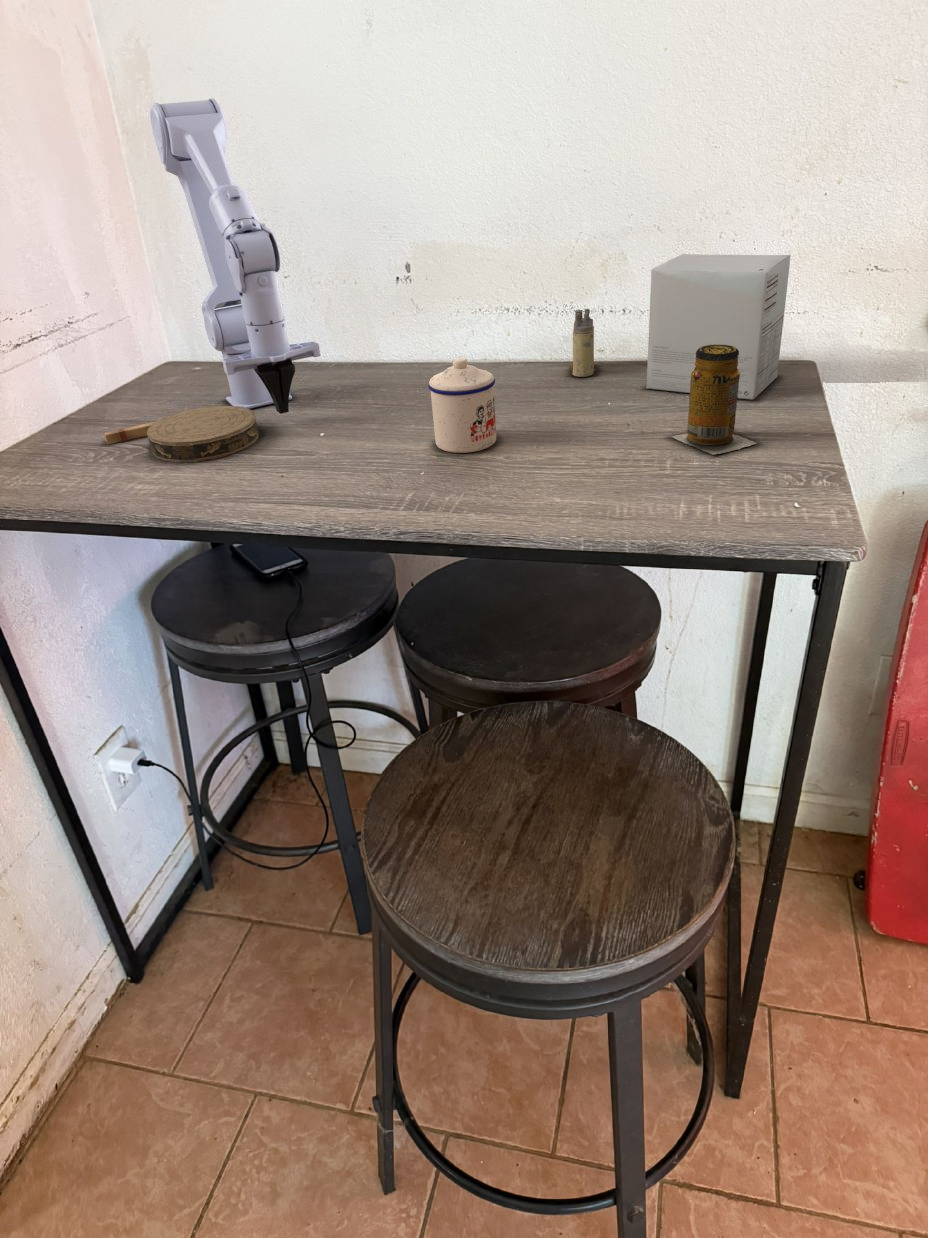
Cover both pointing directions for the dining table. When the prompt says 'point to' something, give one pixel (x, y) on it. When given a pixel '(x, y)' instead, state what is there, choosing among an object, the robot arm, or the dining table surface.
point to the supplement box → (717, 317)
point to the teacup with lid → (463, 408)
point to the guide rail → (127, 433)
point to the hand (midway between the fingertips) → (282, 411)
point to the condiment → (714, 401)
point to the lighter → (583, 344)
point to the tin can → (203, 433)
